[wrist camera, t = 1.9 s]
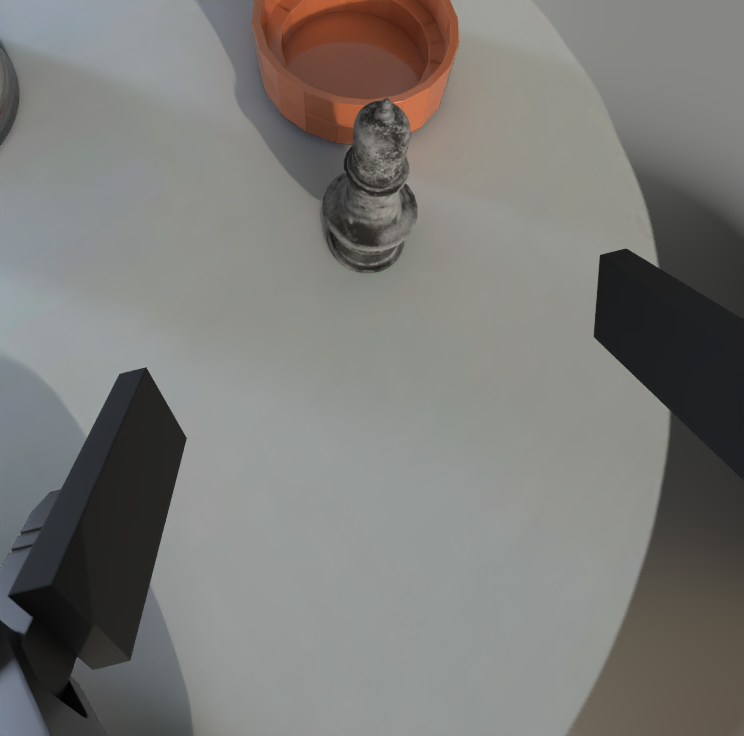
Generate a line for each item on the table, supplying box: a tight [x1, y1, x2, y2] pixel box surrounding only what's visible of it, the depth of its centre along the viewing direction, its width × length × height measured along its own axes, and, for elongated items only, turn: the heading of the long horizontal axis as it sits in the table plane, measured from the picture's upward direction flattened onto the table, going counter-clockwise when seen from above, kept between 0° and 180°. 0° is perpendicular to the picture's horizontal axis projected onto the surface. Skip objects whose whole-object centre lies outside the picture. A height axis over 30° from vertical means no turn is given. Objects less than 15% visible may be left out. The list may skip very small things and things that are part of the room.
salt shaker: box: [323, 98, 417, 273], centre depth 28 cm, size 6×6×12 cm
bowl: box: [252, 0, 459, 144], centre depth 35 cm, size 14×14×4 cm
